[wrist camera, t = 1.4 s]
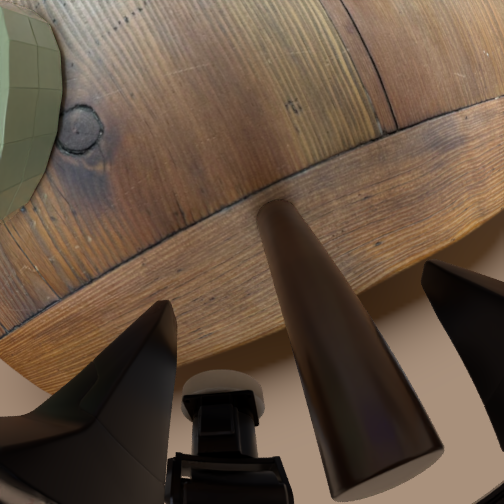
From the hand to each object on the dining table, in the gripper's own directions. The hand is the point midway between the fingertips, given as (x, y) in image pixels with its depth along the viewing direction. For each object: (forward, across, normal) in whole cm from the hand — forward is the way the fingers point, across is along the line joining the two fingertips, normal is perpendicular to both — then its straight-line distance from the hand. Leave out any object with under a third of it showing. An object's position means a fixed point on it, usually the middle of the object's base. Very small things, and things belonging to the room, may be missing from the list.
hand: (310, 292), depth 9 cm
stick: (+7, 0, 0) cm, 7 cm away
